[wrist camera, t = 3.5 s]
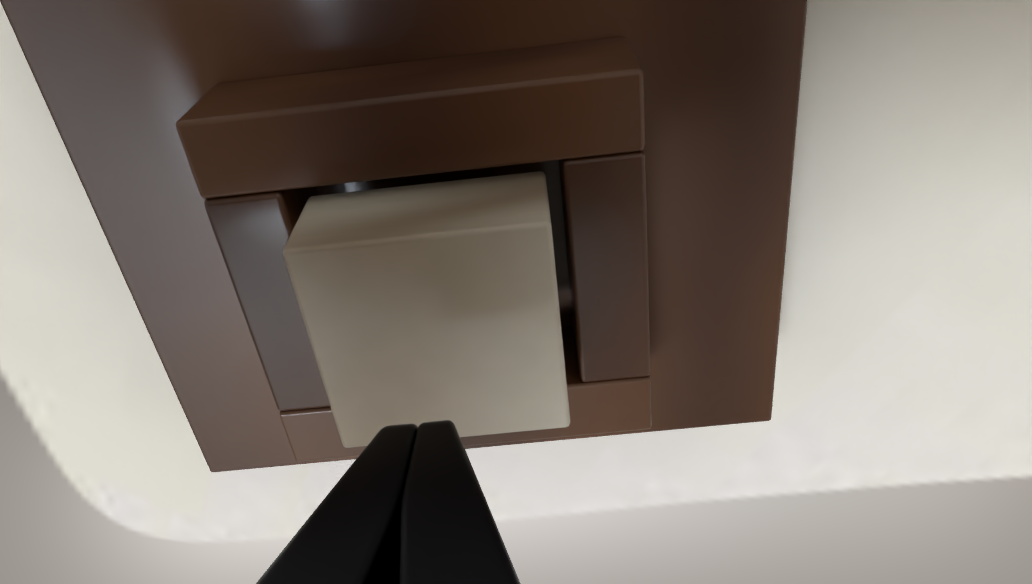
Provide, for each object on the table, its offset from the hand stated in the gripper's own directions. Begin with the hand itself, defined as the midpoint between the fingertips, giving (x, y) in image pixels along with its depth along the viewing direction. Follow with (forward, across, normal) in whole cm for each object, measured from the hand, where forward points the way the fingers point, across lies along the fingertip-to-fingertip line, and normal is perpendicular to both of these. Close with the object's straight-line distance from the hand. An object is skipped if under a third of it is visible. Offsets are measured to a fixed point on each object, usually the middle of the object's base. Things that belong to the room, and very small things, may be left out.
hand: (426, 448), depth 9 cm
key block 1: (+8, 0, 0) cm, 8 cm away
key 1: (+4, 0, 0) cm, 4 cm away
